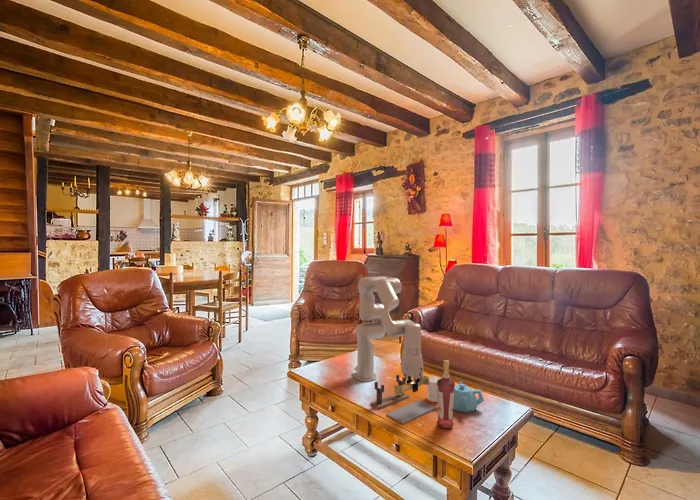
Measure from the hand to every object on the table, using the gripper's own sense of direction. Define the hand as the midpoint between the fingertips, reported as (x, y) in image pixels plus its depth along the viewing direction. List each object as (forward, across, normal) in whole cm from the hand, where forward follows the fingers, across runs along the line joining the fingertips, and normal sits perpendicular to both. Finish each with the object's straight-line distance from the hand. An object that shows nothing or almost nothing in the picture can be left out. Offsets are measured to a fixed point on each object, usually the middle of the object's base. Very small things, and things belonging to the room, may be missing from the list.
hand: (412, 389), depth 160 cm
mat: (+10, 0, 0) cm, 10 cm away
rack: (+10, -14, 0) cm, 18 cm away
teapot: (+11, +11, +23) cm, 28 cm away
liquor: (+11, +17, +2) cm, 20 cm away
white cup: (+11, -2, +19) cm, 22 cm away
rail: (0, 0, 0) cm, 1 cm away
